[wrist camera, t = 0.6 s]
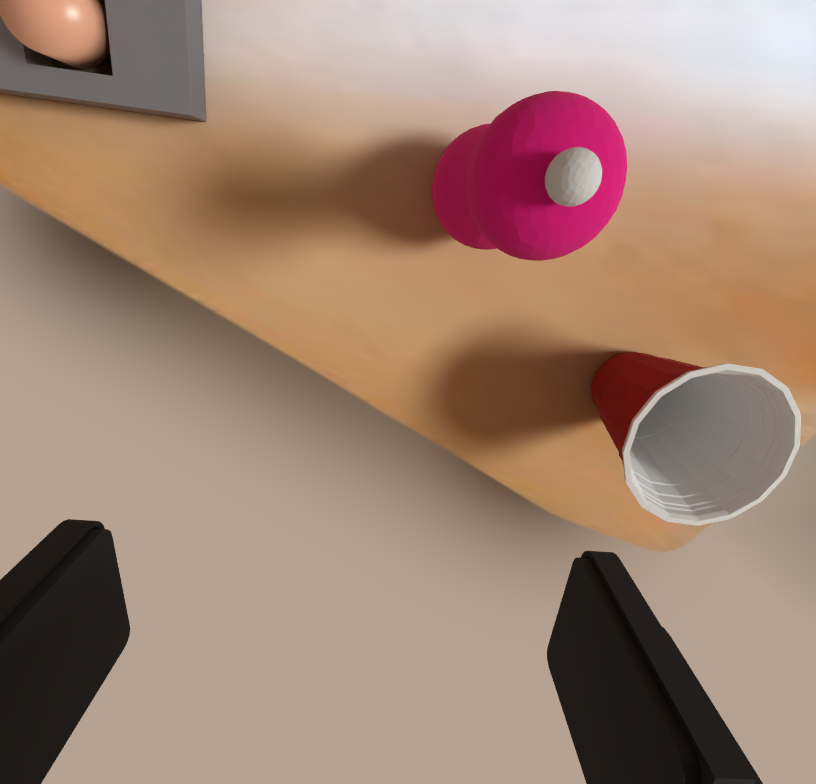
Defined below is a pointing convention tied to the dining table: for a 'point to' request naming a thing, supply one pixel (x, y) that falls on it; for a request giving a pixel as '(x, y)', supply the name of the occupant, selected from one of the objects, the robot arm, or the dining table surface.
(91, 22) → the terracotta button
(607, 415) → the plastic cup
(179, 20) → the button panel
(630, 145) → the dining table surface
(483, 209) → the pepper mill
